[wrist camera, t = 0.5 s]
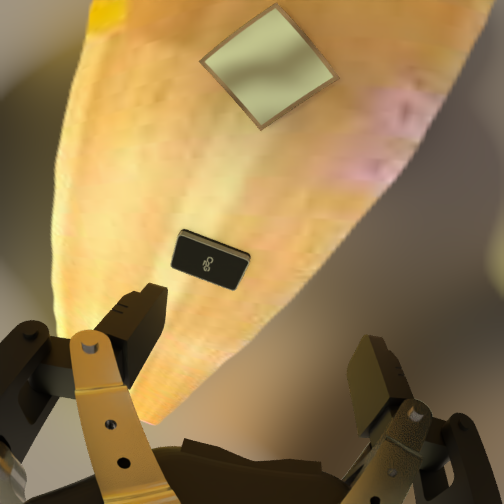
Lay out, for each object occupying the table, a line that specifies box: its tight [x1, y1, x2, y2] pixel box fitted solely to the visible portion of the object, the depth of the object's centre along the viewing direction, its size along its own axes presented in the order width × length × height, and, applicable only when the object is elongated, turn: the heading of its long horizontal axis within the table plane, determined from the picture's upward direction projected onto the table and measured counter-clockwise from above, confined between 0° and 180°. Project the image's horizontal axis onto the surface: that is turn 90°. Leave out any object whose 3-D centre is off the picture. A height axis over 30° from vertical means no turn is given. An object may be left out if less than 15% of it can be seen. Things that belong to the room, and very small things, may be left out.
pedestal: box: [199, 3, 340, 131], centre depth 27 cm, size 10×10×4 cm
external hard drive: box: [171, 229, 250, 291], centre depth 46 cm, size 7×11×2 cm, turn 69°
